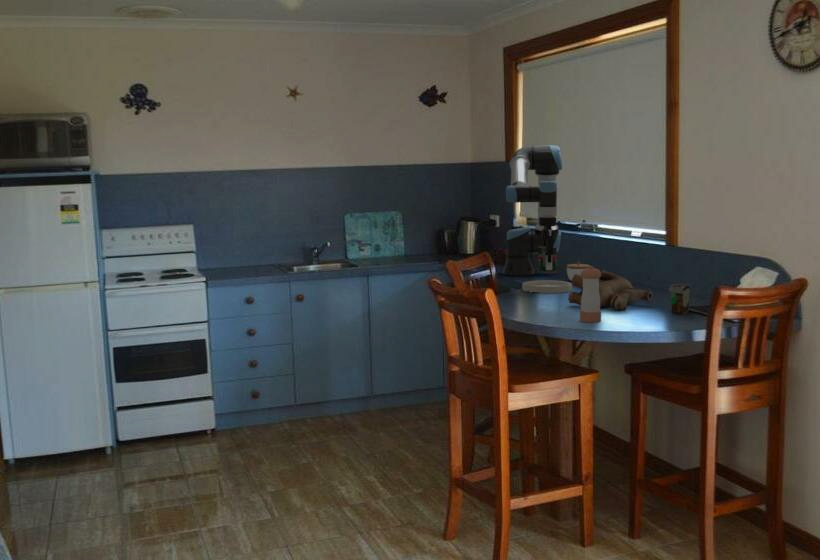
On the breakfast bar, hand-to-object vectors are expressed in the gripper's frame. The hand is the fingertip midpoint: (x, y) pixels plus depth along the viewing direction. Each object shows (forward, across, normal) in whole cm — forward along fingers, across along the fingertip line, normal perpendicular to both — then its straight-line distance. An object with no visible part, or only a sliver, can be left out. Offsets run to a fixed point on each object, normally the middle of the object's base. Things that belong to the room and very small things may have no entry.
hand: (547, 268), depth 373 cm
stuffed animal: (+10, +44, +18) cm, 48 cm away
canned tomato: (+1, 0, 0) cm, 1 cm away
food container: (+10, +62, +37) cm, 73 cm away
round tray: (+9, 0, 0) cm, 9 cm away
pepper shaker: (+10, +77, +2) cm, 78 cm away
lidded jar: (+9, -26, +19) cm, 34 cm away
